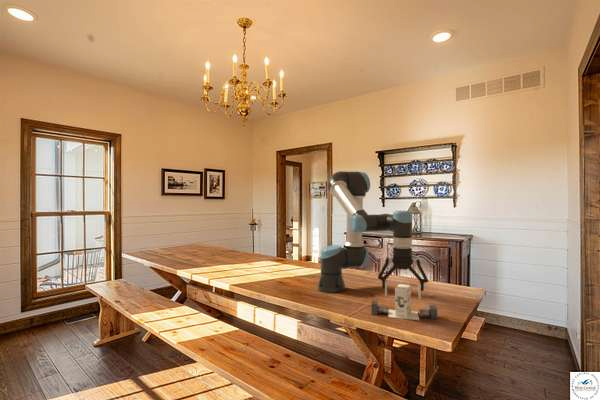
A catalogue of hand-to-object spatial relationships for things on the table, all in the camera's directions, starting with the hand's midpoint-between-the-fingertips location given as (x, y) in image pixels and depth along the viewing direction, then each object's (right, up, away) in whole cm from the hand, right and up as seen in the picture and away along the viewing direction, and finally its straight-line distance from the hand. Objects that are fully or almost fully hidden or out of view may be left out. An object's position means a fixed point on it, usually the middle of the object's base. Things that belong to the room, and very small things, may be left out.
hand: (402, 297), depth 134 cm
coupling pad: (0, -7, 0) cm, 8 cm away
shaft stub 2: (+9, -7, -3) cm, 12 cm away
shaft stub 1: (-9, -8, +2) cm, 12 cm away
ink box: (0, -7, 0) cm, 7 cm away
